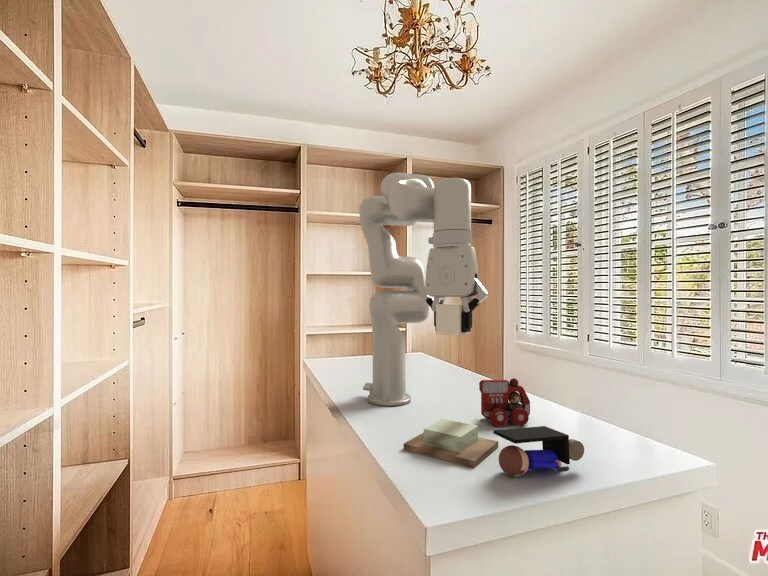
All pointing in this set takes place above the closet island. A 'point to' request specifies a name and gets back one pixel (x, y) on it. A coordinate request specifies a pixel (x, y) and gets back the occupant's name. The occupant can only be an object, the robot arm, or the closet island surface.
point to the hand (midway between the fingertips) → (452, 330)
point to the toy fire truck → (504, 402)
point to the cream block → (449, 319)
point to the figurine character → (553, 451)
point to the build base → (454, 456)
